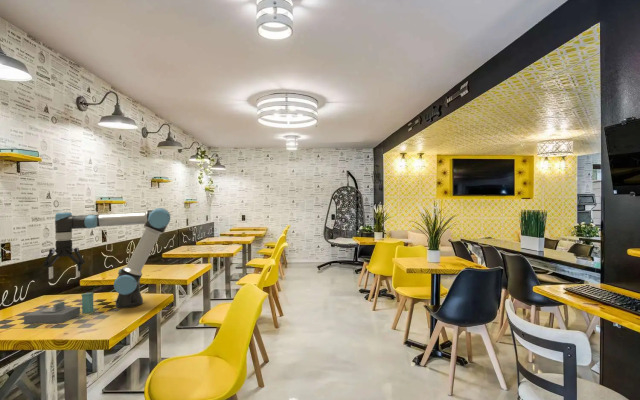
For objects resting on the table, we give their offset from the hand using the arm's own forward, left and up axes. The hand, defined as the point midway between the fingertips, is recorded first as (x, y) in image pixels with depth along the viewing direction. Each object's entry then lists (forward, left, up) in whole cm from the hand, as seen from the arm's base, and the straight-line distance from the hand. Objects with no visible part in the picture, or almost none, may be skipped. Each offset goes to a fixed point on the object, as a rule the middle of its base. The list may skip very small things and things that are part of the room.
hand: (64, 277), depth 193 cm
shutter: (+5, +2, -18) cm, 18 cm away
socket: (+5, +2, -22) cm, 23 cm away
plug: (-7, -9, -22) cm, 25 cm away
